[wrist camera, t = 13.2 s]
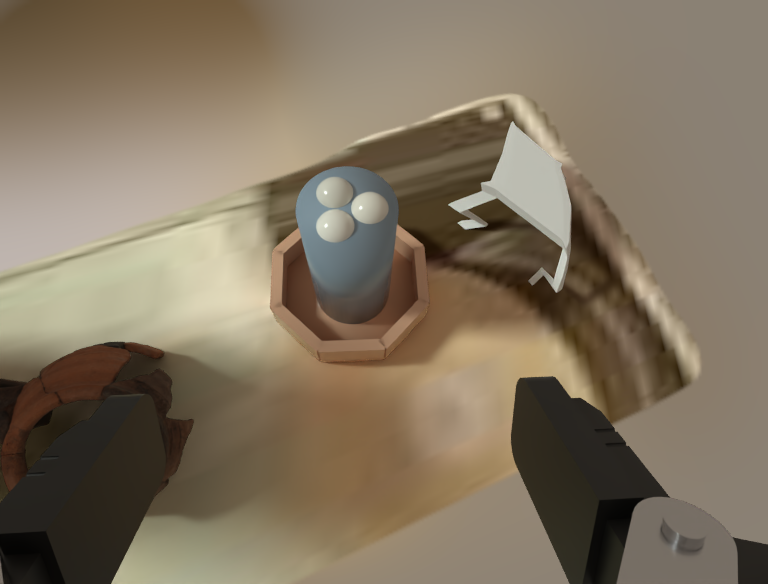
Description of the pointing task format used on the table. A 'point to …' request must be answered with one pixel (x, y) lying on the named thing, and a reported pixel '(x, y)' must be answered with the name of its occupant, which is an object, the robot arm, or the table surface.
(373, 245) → the pebble cup
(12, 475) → the pottery mug
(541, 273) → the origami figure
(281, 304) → the terracotta bowl
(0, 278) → the table surface
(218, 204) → the table surface
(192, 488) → the table surface
